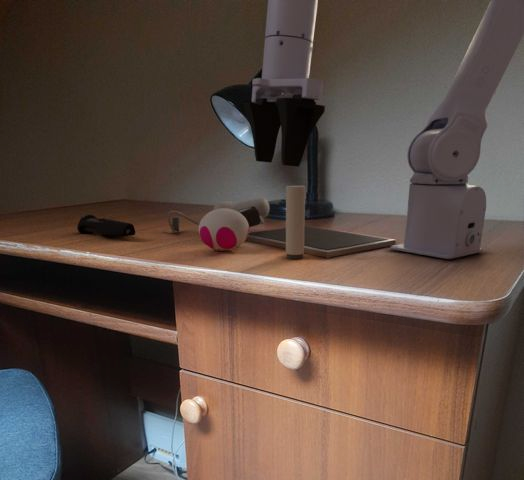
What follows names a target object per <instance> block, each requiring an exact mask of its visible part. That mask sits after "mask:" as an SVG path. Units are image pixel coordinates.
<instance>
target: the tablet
mask: <svg viewBox="0 0 524 480" xmlns="http://www.w3.org/2000/svg"><path fill="white" fill-rule="evenodd" d="M245 241H247V242H252V243H257V244H261V245H266V246H270V247H275V248H280V249H284V250H286V227H283V228H275V229H268V230H259V231H253V232H249V234H248V237H247V239H246V240H245ZM396 241H397V240H396V239H394V238H388V237H381V236H373V235H369V234H361V233H355V232H349V231H344V230H343V231H342V230H337V229H336V230H335V229H330V228H324V227H318V226H317V227H316V226H311V225H310V226H309V225H304V254H307V255H311V256H316V257H321V258H326V259H328V258H329V259H330V258H334V257H340V256H345V255H351V254H355V253H360V252H361V253H362V252H366V251H371V250H377V249H383V248H386V247H391V246H393V245H396Z"/></svg>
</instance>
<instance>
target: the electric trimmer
mask: <svg viewBox="0 0 524 480" xmlns="http://www.w3.org/2000/svg"><path fill="white" fill-rule="evenodd" d="M76 229H77V231H78V233H80V234H85V233H95V234H100V235H101V236H102V237H106V238H125V237H130V236H135V235H136V229H135V226H134V224H133V223H130V222H125V221H119V220H115V219H108V218H98V217H97V216H95V215H93V214H87V215H85V216H82V217H81V218H80V220H79V221H78V223H77V227H76Z"/></svg>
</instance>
